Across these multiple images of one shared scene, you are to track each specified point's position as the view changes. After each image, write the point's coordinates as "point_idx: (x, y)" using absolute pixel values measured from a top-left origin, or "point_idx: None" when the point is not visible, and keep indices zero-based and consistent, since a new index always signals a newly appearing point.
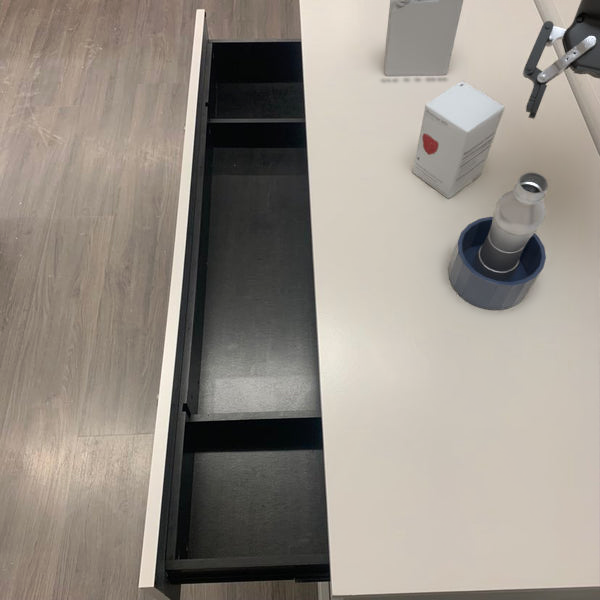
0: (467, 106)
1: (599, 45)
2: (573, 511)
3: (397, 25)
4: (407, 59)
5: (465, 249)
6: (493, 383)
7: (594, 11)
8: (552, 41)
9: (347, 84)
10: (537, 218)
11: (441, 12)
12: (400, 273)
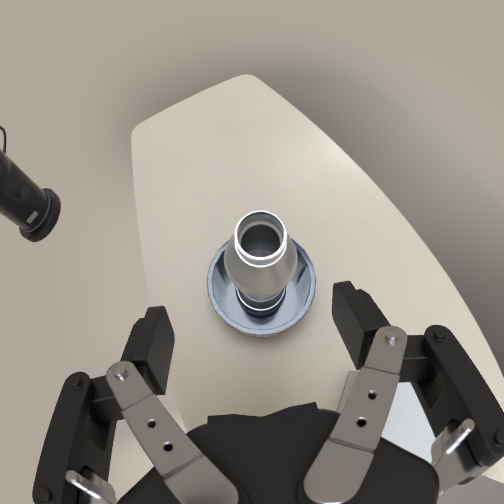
0: (417, 425)
1: (279, 500)
2: (143, 147)
3: (497, 489)
4: (462, 491)
5: (299, 307)
6: (213, 189)
7: None
8: (447, 436)
9: None
10: (231, 238)
11: None
12: (341, 246)
